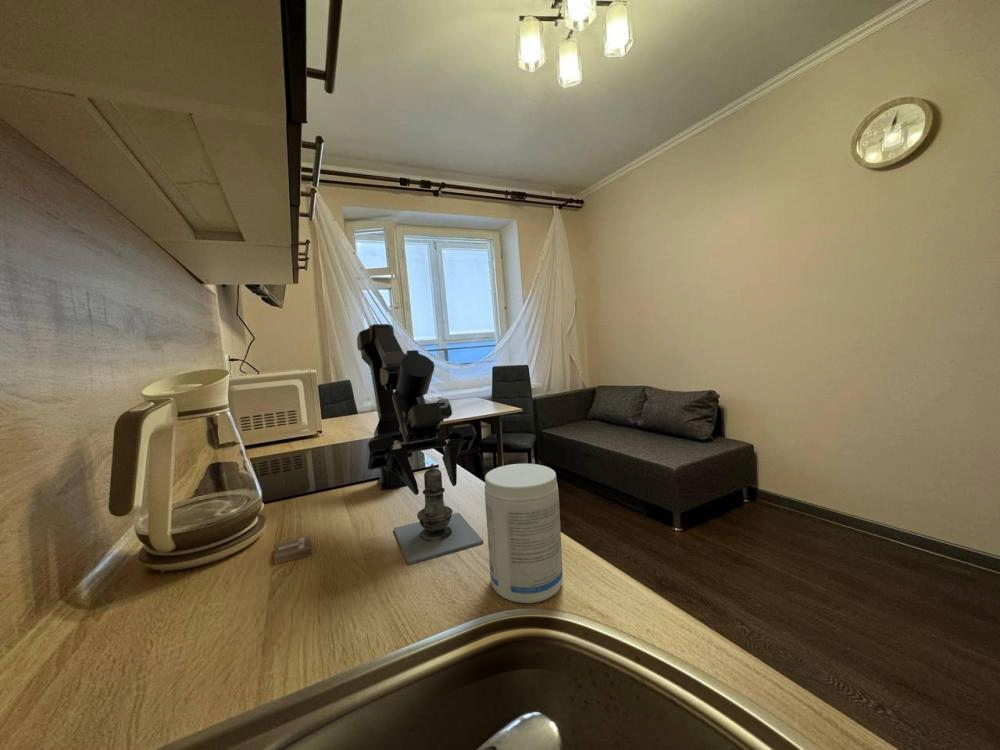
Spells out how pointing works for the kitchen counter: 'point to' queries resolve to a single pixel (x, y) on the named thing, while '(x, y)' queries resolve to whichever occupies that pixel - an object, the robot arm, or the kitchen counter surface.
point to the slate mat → (423, 550)
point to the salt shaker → (434, 509)
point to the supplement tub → (524, 532)
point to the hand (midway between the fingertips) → (436, 489)
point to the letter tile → (292, 549)
